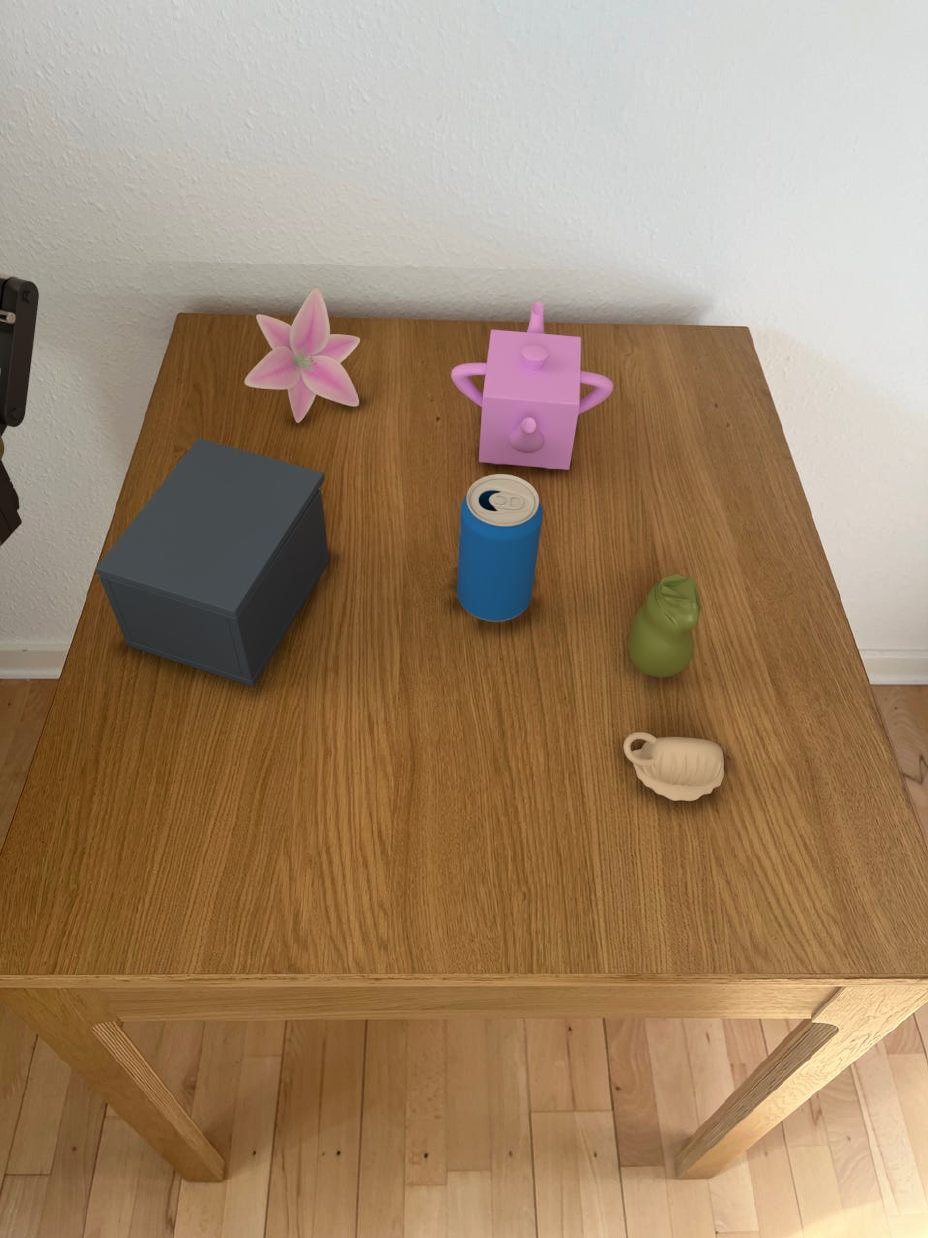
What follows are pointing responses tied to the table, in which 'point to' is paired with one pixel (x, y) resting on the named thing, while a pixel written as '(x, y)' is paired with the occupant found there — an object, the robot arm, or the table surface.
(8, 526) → the robot arm
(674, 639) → the olive green lumpy piece
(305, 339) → the lily
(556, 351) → the teapot
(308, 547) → the chest
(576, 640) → the table surface
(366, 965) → the table surface
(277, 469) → the lid
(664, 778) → the decorative ornament
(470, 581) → the beverage can
